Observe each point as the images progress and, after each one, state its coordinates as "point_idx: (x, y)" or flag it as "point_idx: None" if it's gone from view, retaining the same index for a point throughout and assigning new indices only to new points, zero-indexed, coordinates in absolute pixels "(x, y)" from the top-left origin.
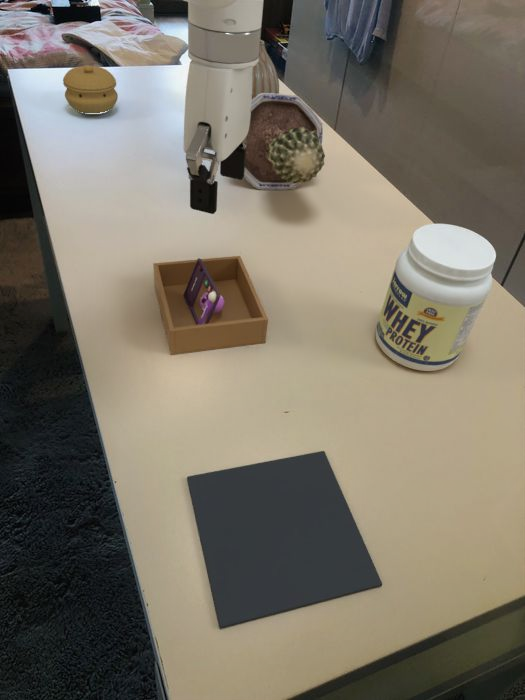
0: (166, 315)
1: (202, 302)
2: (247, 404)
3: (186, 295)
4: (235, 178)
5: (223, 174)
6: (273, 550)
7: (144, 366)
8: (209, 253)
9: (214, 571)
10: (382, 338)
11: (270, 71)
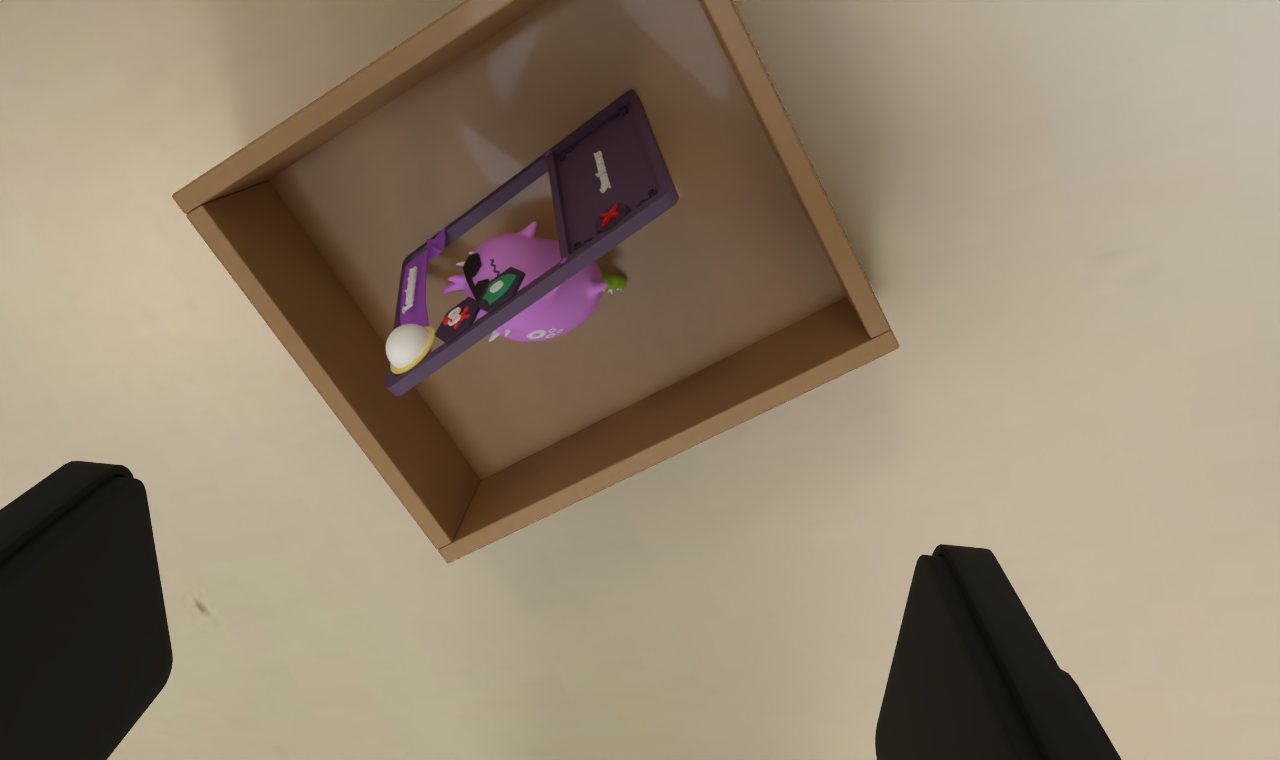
0: (261, 138)
1: (468, 260)
2: (167, 497)
3: (615, 112)
4: (885, 694)
5: (918, 586)
6: None
7: (136, 87)
8: (1069, 91)
9: None
10: None
11: None
